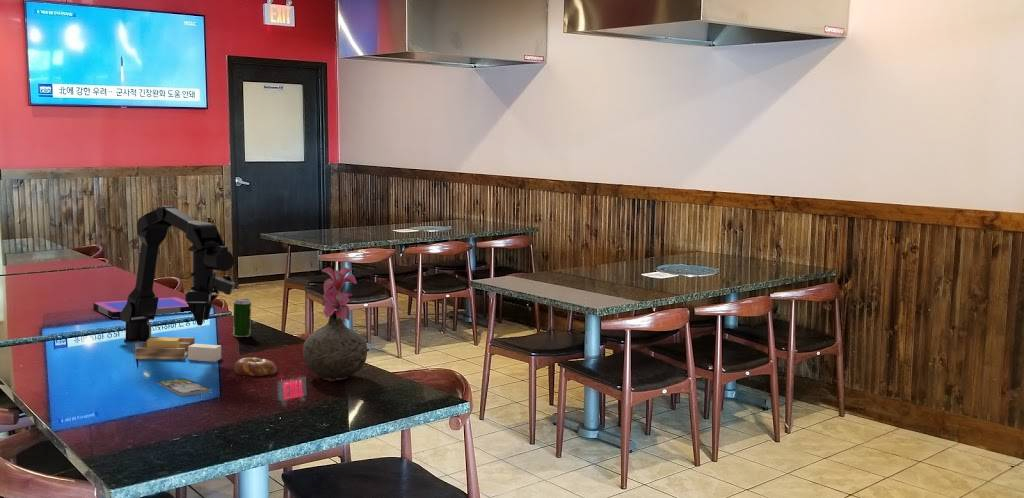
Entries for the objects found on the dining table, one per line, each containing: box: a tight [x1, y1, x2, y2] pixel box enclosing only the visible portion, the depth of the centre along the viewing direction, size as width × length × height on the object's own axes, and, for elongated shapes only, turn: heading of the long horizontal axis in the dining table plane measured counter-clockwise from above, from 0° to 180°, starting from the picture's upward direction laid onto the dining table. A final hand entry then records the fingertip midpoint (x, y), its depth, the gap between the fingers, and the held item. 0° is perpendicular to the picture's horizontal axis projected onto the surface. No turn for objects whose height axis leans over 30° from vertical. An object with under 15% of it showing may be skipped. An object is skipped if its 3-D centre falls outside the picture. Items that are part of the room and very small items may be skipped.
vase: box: [302, 266, 368, 379], centre depth 237 cm, size 17×17×30 cm
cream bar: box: [187, 343, 222, 362], centre depth 252 cm, size 8×4×4 cm, turn 85°
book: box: [92, 296, 191, 317], centre depth 319 cm, size 21×3×30 cm
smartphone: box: [157, 377, 210, 397], centre depth 221 cm, size 7×1×15 cm
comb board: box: [135, 336, 196, 360], centre depth 257 cm, size 13×16×3 cm
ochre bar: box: [146, 338, 180, 348], centre depth 253 cm, size 8×4×4 cm, turn 99°
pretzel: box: [233, 356, 278, 377], centre depth 241 cm, size 12×11×4 cm
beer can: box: [232, 298, 252, 338], centre depth 284 cm, size 5×5×12 cm
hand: (203, 322), depth 251 cm, fingers open, 9 cm apart
